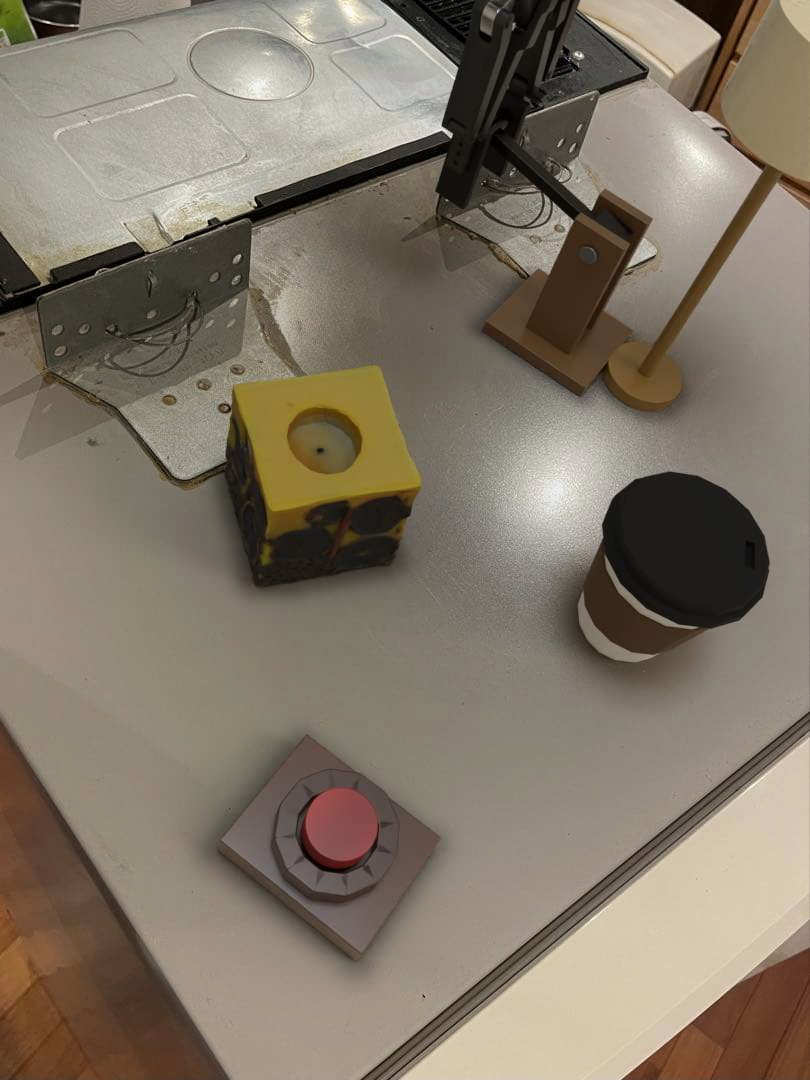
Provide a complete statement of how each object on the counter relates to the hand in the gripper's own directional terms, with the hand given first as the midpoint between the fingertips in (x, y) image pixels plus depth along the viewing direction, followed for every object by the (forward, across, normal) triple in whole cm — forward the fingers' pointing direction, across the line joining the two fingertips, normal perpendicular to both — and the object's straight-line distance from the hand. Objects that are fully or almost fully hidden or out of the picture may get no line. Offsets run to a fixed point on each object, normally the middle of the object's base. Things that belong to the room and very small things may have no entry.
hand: (470, 181), depth 79 cm
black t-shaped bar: (-2, 0, -6) cm, 6 cm away
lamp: (+8, +1, -20) cm, 22 cm away
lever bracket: (+8, 0, -12) cm, 15 cm away
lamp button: (+5, -47, -22) cm, 52 cm away
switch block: (+8, -46, -22) cm, 52 cm away
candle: (+9, -29, -7) cm, 31 cm away
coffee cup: (+9, -21, -29) cm, 37 cm away
